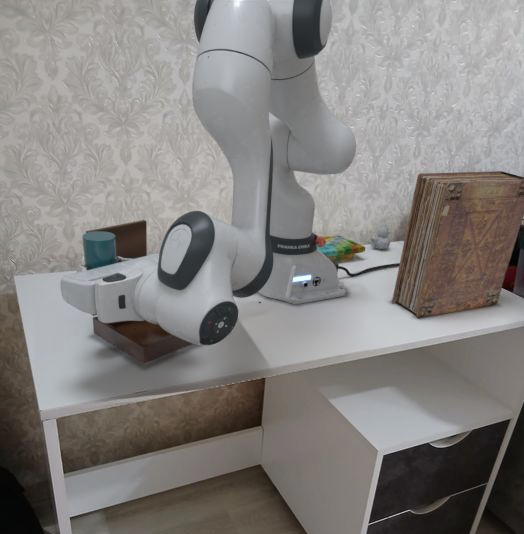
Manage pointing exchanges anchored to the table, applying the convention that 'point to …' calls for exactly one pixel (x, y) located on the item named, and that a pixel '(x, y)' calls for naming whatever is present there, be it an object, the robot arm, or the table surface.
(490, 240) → the book
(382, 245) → the grey figurine
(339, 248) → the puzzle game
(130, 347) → the chest
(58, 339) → the table surface
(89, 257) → the canister
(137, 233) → the lid
